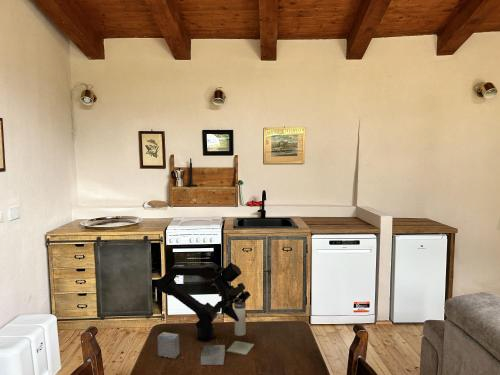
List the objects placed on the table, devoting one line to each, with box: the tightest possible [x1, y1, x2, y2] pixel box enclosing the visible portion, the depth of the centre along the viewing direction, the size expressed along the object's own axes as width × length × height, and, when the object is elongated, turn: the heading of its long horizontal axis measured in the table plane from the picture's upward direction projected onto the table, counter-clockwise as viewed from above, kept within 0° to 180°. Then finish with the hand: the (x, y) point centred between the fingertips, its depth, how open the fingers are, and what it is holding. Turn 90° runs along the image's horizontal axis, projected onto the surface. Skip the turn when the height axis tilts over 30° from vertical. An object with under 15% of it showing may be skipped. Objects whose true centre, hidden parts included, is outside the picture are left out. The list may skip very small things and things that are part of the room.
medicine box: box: [157, 331, 180, 359], centre depth 150 cm, size 8×4×9 cm, turn 71°
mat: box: [226, 340, 255, 356], centre depth 155 cm, size 9×9×1 cm
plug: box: [233, 301, 247, 337], centre depth 155 cm, size 5×5×13 cm
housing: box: [200, 344, 226, 366], centre depth 147 cm, size 9×9×4 cm
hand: (242, 319), depth 154 cm, fingers closed on plug, 5 cm apart
